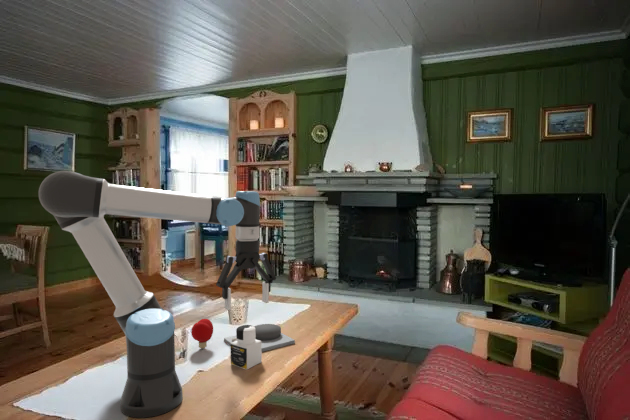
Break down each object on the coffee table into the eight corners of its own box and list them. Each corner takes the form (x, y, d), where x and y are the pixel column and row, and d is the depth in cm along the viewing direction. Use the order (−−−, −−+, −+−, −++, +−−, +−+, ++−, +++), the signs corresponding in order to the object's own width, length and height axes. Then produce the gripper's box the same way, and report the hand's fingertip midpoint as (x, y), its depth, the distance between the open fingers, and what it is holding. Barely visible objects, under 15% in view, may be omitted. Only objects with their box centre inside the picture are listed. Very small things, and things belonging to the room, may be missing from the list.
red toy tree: (205, 354, 141) (205, 325, 141) (186, 353, 143) (186, 324, 142) (217, 344, 150) (217, 317, 150) (199, 343, 152) (199, 316, 151)
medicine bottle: (230, 364, 133) (229, 327, 133) (246, 357, 139) (245, 321, 139) (246, 370, 129) (246, 332, 129) (262, 362, 135) (261, 325, 134)
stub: (259, 342, 149) (259, 335, 149) (246, 334, 158) (246, 327, 158) (286, 336, 155) (286, 329, 155) (271, 328, 164) (271, 322, 164)
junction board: (244, 356, 140) (244, 349, 140) (224, 341, 154) (223, 335, 154) (294, 343, 151) (294, 337, 151) (271, 330, 165) (271, 324, 165)
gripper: (215, 243, 123) (215, 314, 124) (286, 238, 138) (286, 302, 139) (205, 240, 128) (205, 309, 129) (274, 236, 144) (273, 297, 145)
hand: (247, 305), depth 134 cm, fingers open, 13 cm apart
